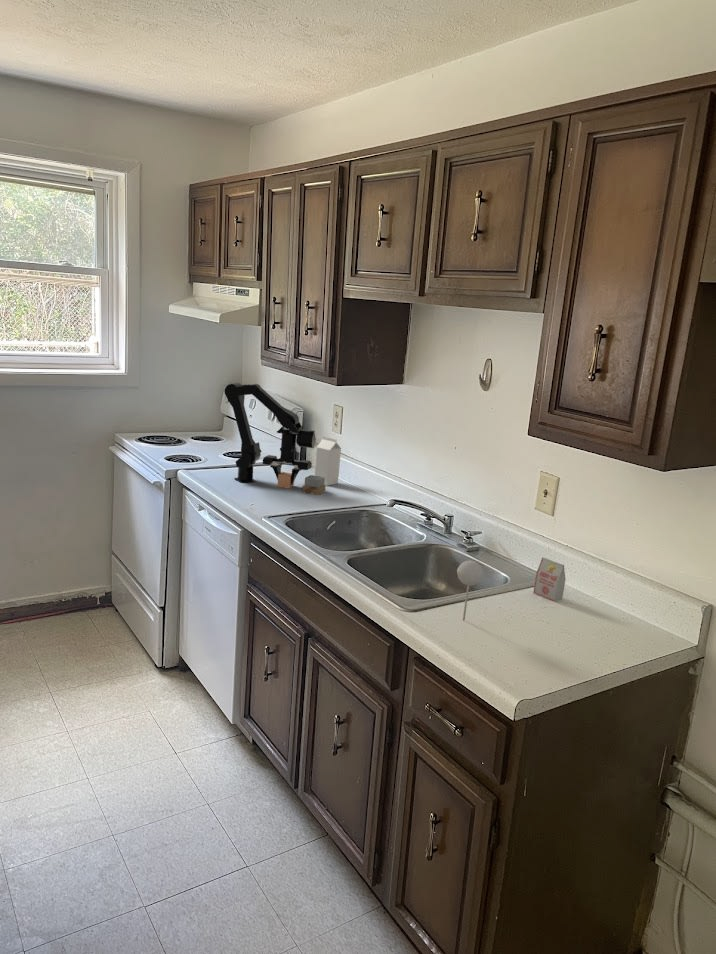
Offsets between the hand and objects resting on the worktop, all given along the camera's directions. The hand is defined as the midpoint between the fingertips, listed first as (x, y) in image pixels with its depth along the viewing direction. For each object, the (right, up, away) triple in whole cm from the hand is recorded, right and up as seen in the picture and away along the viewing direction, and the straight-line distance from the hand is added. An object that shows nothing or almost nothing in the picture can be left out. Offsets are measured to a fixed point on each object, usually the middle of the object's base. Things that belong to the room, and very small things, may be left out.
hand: (285, 483), depth 285 cm
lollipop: (+54, -32, -112) cm, 129 cm away
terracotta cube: (0, -1, 0) cm, 1 cm away
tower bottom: (+11, -3, -4) cm, 13 cm away
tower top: (+12, 0, -4) cm, 12 cm away
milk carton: (+15, 0, +11) cm, 19 cm away
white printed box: (+80, -30, -92) cm, 125 cm away
